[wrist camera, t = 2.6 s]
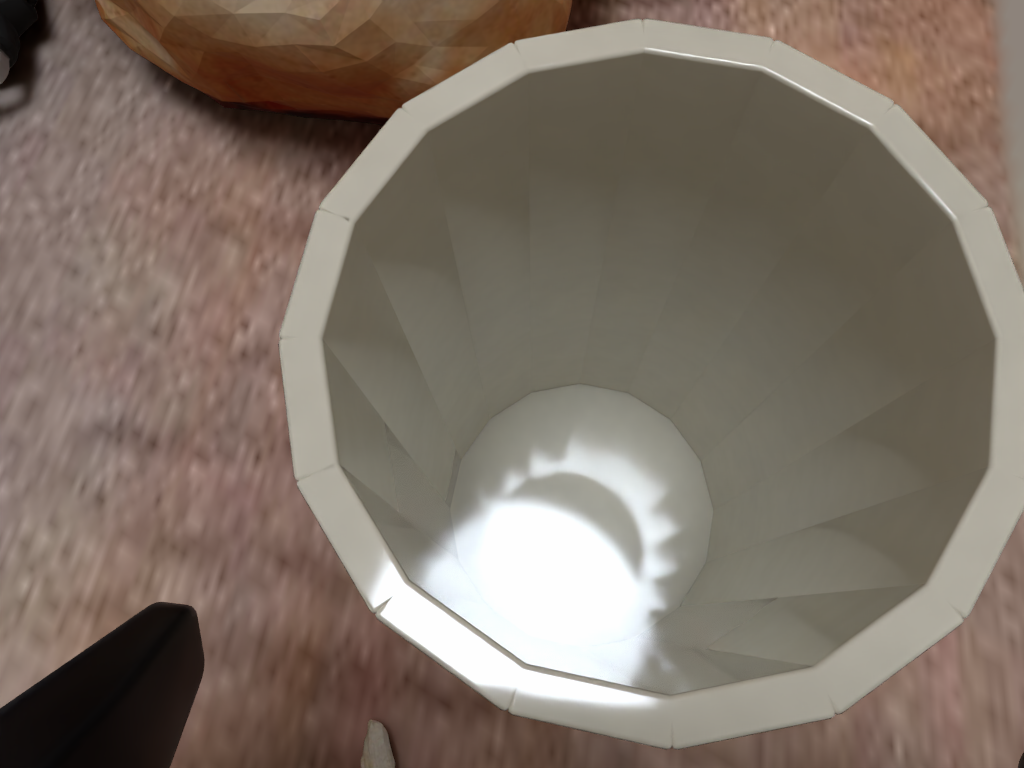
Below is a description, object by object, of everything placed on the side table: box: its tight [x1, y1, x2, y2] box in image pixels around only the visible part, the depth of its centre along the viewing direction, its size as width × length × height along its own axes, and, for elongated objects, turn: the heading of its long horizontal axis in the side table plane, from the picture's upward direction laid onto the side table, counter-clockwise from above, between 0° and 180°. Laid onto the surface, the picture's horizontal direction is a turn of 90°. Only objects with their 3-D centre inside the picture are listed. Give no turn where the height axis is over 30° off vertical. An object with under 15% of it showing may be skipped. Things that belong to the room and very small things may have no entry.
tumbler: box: [278, 19, 1024, 750], centre depth 13 cm, size 7×7×12 cm
